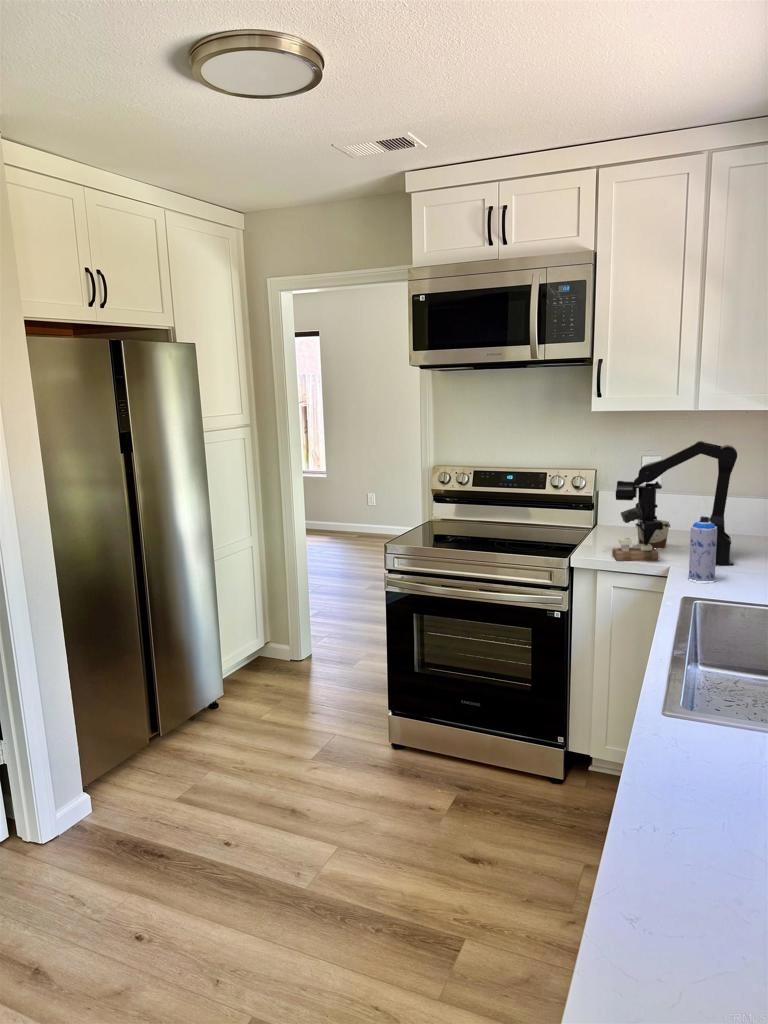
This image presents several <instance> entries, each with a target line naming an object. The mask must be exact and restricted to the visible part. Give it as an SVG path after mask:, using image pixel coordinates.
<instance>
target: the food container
mask: <svg viewBox="0 0 768 1024" xmlns="http://www.w3.org/2000/svg"><path fill="white" fill-rule="evenodd" d="M658 520H659V521H661V522H662V523H663V529H662V530H656V531H655V532H654V534H653V536H652V538H651V539H650V541H649V543H648V544H650V545H652V548H656V549H655V550H659V549H658V548H662V549H661V550H665V549H664V548H666V549H667V541H668V535H669V528H670V529H671V523H670V521H667V520H662V519H661V520H660V519H658ZM636 524H638V521H636ZM635 529H637V536H638V540H637V541H638V545H639V544H644V543H643V539H642V535H641V531H640V528H639V527H637V526H636V525H635Z"/></svg>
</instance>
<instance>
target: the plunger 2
mask: <svg viewBox="0 0 768 1024" xmlns="http://www.w3.org/2000/svg"><path fill="white" fill-rule="evenodd" d="M638 548H639V549H640V550H641V551H649V550H652V545H650V544H648V545H644V544H639V543H638Z"/></svg>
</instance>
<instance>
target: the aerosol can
mask: <svg viewBox="0 0 768 1024" xmlns="http://www.w3.org/2000/svg"><path fill="white" fill-rule="evenodd" d="M708 518H709V516H700V519H699V520H697V521H696V522H694V523H693V524H692V525H691V526H690V537H689V539H690V540H689V541H690V542H689V560H688V561H689V563H688V577H689V579H692V580H696V581H714V580H715V581H716V578H715V577H716V576H715V575H716V565H715V564H716V544H717V527H716V526H715V525H714V524H713V523H711V522H710V521H708Z"/></svg>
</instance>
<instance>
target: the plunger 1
mask: <svg viewBox="0 0 768 1024" xmlns="http://www.w3.org/2000/svg"><path fill="white" fill-rule="evenodd" d="M618 543H619V544H620V548H621V551H629V548H630V545H633V544H632V543H633V540H632V539H631V538H630V537H619V538H618Z"/></svg>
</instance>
